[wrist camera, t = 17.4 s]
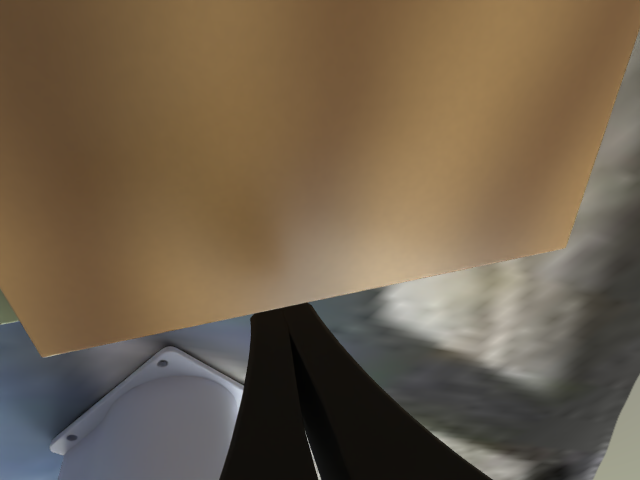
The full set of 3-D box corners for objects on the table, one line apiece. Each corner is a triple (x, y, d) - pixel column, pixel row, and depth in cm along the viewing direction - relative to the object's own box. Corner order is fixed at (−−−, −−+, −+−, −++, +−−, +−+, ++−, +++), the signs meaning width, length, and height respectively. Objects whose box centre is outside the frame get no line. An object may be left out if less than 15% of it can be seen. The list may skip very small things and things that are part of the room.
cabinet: (100, 212, 17) (40, 359, 10) (-95, -296, 10) (-725, -906, 3) (442, 160, 20) (566, 248, 13) (493, -258, 13) (827, -522, 6)
